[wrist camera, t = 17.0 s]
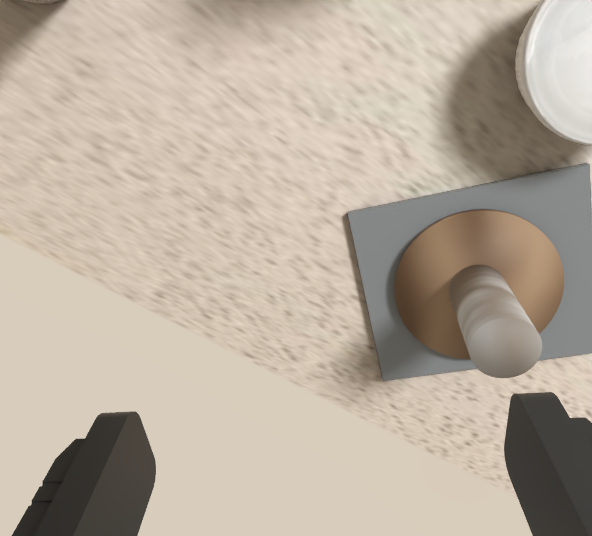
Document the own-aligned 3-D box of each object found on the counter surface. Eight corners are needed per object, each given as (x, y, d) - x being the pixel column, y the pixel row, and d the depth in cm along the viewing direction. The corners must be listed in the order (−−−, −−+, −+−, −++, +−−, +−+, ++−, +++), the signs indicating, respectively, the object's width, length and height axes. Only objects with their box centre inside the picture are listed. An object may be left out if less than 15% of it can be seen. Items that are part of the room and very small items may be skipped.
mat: (382, 377, 45) (383, 381, 45) (347, 211, 40) (347, 213, 40) (594, 348, 42) (597, 352, 41) (585, 163, 36) (589, 164, 36)
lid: (412, 366, 44) (423, 443, 35) (378, 231, 40) (380, 279, 31) (569, 338, 41) (625, 415, 32) (550, 190, 37) (608, 229, 28)
